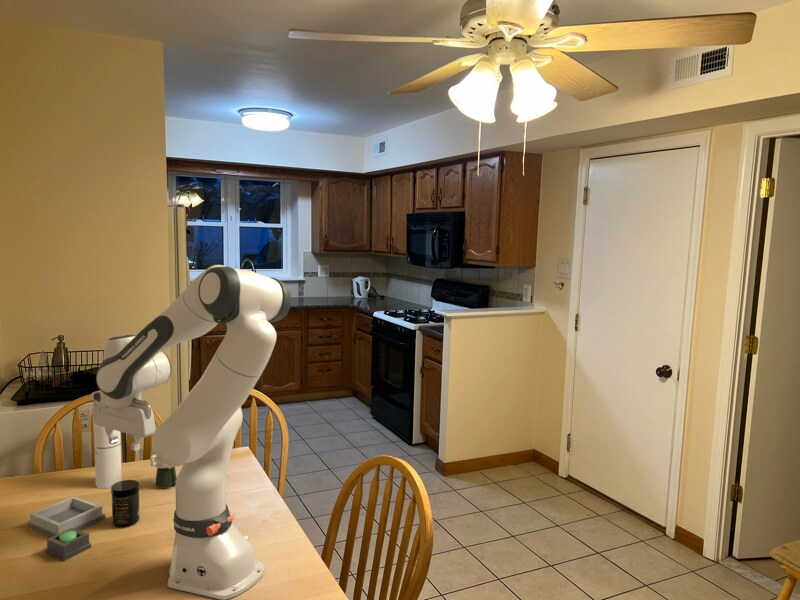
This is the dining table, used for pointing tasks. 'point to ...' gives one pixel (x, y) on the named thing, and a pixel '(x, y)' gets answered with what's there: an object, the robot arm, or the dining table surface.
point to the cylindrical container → (106, 458)
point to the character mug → (163, 473)
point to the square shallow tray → (65, 516)
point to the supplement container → (125, 503)
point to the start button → (68, 536)
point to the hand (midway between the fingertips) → (124, 446)
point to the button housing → (67, 545)
